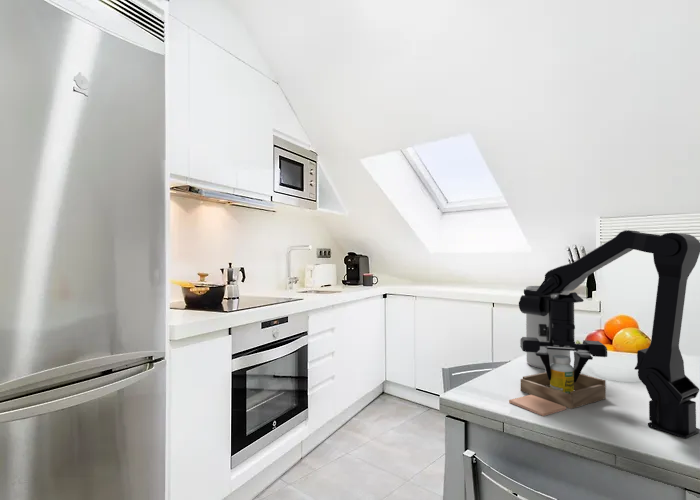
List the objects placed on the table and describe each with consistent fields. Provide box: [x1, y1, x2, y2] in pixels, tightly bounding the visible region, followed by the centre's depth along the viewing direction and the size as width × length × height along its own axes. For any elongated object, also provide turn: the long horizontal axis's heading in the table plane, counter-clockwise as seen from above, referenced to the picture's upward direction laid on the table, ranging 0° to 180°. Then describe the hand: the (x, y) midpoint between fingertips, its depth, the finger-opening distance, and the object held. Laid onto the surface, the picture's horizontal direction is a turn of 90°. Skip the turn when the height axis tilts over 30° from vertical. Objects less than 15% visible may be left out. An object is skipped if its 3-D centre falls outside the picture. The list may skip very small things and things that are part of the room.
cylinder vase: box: [525, 285, 571, 370], centre depth 126 cm, size 12×12×25 cm
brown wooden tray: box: [520, 371, 607, 410], centre depth 99 cm, size 14×14×4 cm
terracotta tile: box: [508, 394, 567, 417], centre depth 91 cm, size 9×8×1 cm
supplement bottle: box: [549, 355, 575, 394], centre depth 99 cm, size 5×5×10 cm
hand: (561, 380), depth 99 cm, fingers closed on supplement bottle, 5 cm apart
